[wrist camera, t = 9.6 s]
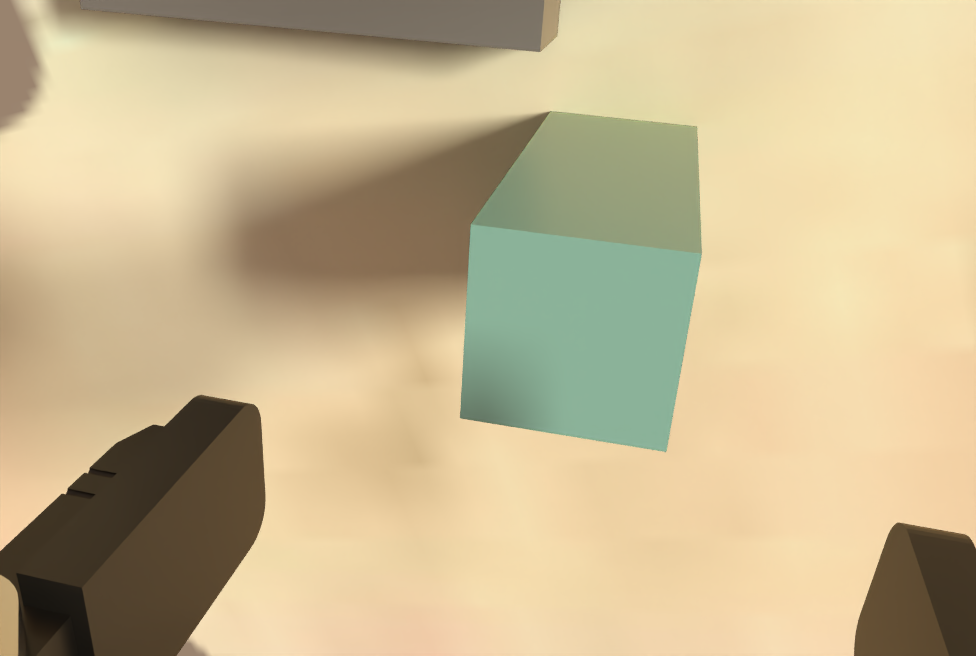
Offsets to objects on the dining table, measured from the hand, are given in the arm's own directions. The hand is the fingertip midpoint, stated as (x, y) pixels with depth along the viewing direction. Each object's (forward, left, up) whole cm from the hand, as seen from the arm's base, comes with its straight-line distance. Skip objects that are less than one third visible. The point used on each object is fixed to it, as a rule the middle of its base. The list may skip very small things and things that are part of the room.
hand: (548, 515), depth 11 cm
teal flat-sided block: (0, 0, -15) cm, 15 cm away
